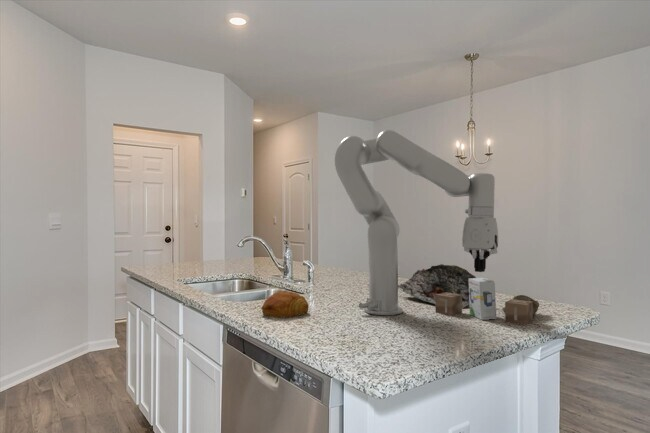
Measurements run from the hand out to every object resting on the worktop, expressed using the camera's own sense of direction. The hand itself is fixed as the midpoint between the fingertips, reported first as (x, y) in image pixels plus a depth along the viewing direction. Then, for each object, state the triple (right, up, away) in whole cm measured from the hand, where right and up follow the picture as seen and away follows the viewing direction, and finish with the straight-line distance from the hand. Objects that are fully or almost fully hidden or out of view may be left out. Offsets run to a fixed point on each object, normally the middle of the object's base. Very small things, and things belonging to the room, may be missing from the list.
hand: (479, 271), depth 131 cm
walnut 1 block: (+9, -14, -6) cm, 18 cm away
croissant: (-62, -15, +6) cm, 64 cm away
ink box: (+1, -14, 0) cm, 14 cm away
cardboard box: (-8, -14, +6) cm, 17 cm away
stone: (+14, -15, +2) cm, 20 cm away
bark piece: (-8, -15, +25) cm, 30 cm away
